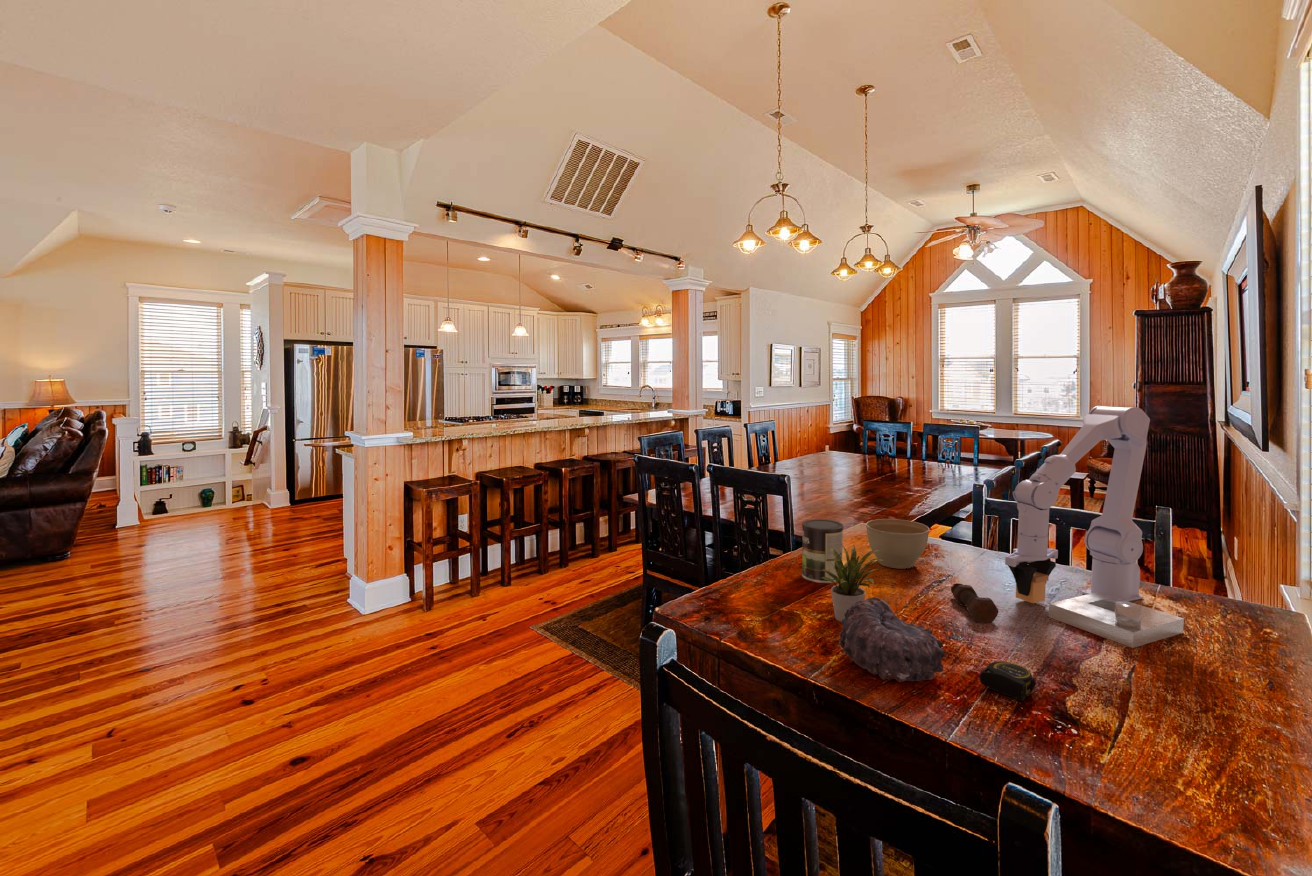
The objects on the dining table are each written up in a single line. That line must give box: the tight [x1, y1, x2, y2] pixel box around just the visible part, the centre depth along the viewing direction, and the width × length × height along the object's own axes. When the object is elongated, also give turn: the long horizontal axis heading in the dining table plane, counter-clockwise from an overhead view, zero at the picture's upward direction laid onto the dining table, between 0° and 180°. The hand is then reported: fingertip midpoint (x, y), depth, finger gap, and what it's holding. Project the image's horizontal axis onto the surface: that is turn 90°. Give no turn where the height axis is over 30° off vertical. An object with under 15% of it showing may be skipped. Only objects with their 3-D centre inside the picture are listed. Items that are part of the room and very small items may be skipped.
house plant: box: [816, 543, 885, 623], centre depth 125 cm, size 14×14×16 cm
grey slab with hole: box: [1048, 592, 1185, 649], centre depth 121 cm, size 16×16×7 cm
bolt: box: [950, 583, 999, 624], centre depth 130 cm, size 6×5×15 cm
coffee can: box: [801, 518, 844, 584], centre depth 152 cm, size 10×10×14 cm
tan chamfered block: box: [1015, 571, 1050, 604], centre depth 133 cm, size 4×5×6 cm
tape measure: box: [979, 661, 1036, 702], centre depth 96 cm, size 7×7×4 cm
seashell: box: [838, 596, 946, 683], centre depth 105 cm, size 19×13×15 cm
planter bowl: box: [865, 518, 930, 570], centre depth 162 cm, size 16×16×11 cm
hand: (1030, 592), depth 133 cm, fingers closed on tan chamfered block, 4 cm apart
